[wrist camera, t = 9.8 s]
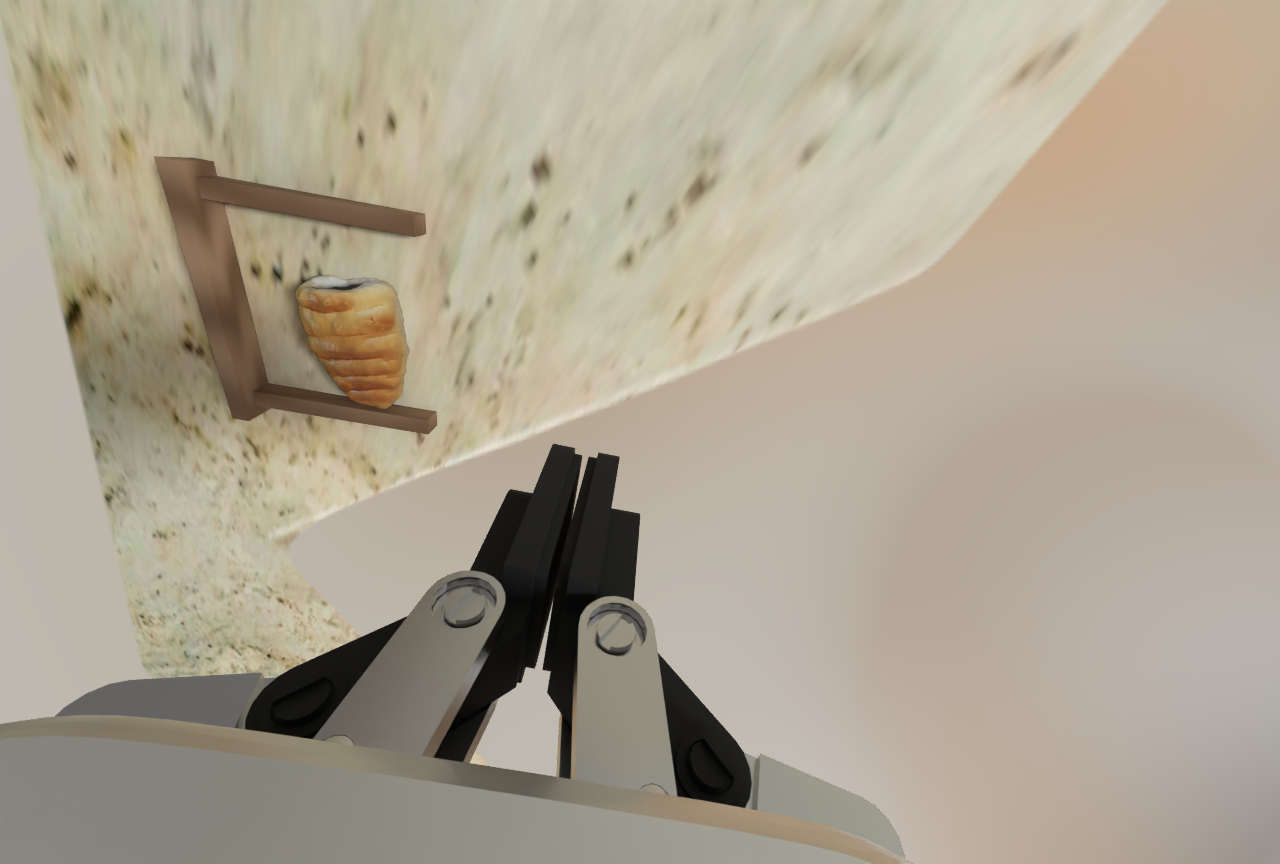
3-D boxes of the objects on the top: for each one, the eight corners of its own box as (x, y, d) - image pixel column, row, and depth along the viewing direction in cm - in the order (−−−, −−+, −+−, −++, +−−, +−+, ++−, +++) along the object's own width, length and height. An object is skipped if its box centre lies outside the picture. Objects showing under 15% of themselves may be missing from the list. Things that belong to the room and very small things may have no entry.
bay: (193, 158, 29) (154, 156, 26) (424, 199, 29) (403, 201, 27) (258, 403, 37) (232, 418, 35) (437, 433, 37) (422, 449, 35)
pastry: (430, 399, 36) (405, 422, 33) (346, 398, 37) (313, 420, 33) (399, 273, 32) (367, 285, 28) (305, 273, 32) (261, 284, 29)
